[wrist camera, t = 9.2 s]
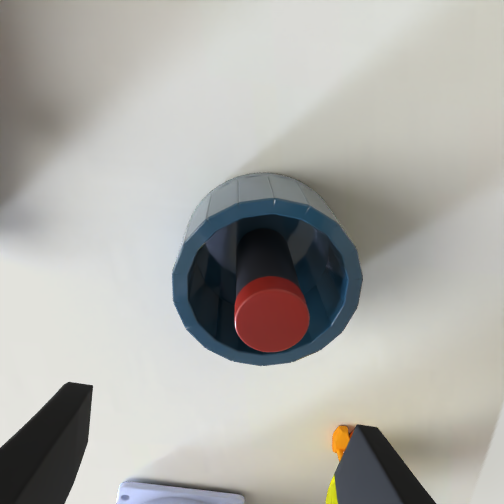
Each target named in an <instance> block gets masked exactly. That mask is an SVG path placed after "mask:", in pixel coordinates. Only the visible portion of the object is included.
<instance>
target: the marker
mask: <svg viewBox="0 0 504 504" xmlns="http://www.w3.org/2000/svg"><path fill="white" fill-rule="evenodd" d="M309 321H310V316H309V311H308V307H307V304H306V301H305V298H304V295H303V293H302V291H301V289H300V285H299V282H298V278H297V275H296V271H295V268H294V265H293V261H292V258H291V254H290V251H289V247H288V244H287V242H286V240H285V239H284V237H283V236H282V235H281V234H279V233H278V232H276V231H274V230H271V229H265V228H262V229H256V230H253V231H250V232H248V233H247V234H246V235H244V236H243V237H242V239H241V240H240V242H239V243H238V246H237V250H236V301H235V315H234V324H235V329H236V332H237V334H238V336H239V337H240V339H241V340H242V341H243V342H244V343H245V344H247V345H248V346H249V347H251V348H253V349H255V350H258V351H263V352H279V351H283V350H286V349H288V348H290V347H292V346H294V345H295V344H297V343H298V342H299V341H300V340H301V339H302V338H303V337H304V335H305V333H306V331H307V329H308V326H309Z"/></svg>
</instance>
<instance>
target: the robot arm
mask: <svg viewBox="0 0 504 504" xmlns="http://www.w3.org/2000/svg"><path fill="white" fill-rule="evenodd" d="M92 390H93V385H86V384H79V383H72V382H68V383H66V384H64V385H63V386H62V387H61V388H60V390H59V391H58V392H57V393H56V394H55V395H54V396H53V397H52V398H51V399H50V400H49V401H48V402H47V403H46V404H45V405H44V406H43V407H42V408H41V409H40V411H39V412H38V413H36V414H35V415H34V416H33V417H32V418H31V419H30V420H29V421H28V422H27V423H26V424H25V425H24V426H23V427H22V428H21V429H20V430H19V431H18V432H17V433H16V434H15V435H14V436H13V437H11V438H10V439H9V440H8V441H7V442H6V443H5V444H4V445H3V446H2V447H1V448H0V504H64V503H65V501H66V499H67V497H68V495H69V492H70V490H71V488H72V486H73V484H74V481H75V478H76V475H77V472H78V469H79V467H80V464H81V461H82V458H83V455H84V452H85V449H86V446H87V443H88V435H89V424H90V413H91V401H92ZM334 476H335V485H336V494H337V501H338V504H436V503H435V501H434V500H433V499H432V498H431V496H430V495H429V494H428V493H427V491H426V490H425V489H424V488H423V486H422V485H421V484H420V482H419V481H418V480H417V478H416V477H415V476H414V475H413V473H412V472H411V471H410V469H409V468H408V467H407V465H406V464H405V463H404V461H403V460H402V459H401V458H400V456H399V455H398V454H397V452H396V451H395V450H394V448H393V447H392V446H391V444H390V443H389V442H388V440H387V439H386V438H385V437H384V435H383V434H382V433H381V431H380V430H379V429H378V428H377V427H371V426H364V425H356V427H355V429H354V432H353V434H352V436H351V438H350V440H349V443H348V445H347V447H346V449H345V452H344V454H343V456H342V458H341V460H340V463H339V465H338V467H337V469H336V471H335V474H334ZM116 504H245V498H244V497H243V496H242V495H239V494H232V493H223V492H215V491H206V490H198V489H189V488H180V487H172V486H163V485H155V484H146V483H138V482H129V481H125V482H122V483H121V484H120V486H119V489H118V495H117V503H116Z"/></svg>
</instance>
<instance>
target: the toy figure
mask: <svg viewBox="0 0 504 504" xmlns="http://www.w3.org/2000/svg"><path fill="white" fill-rule="evenodd" d="M353 432H354V430H353V431H352V432H351V433H350V435H349V432H348V428H347V426H338V428H337V429H336V430H335V431H334V433H333V437H332V449H333V452H335V453H337V455H338V459H339V462H340V460H341V458H342V456H343V454H344V453H343V452H344V451H345V449H346V447H347V445H348V443H349V440H350V438H351V436H352V434H353ZM326 504H338V501H337V494H336V485H335V476H333V478H332V480H331V483H330V487H329V488H328V492H327V497H326Z"/></svg>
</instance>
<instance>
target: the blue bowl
mask: <svg viewBox="0 0 504 504" xmlns="http://www.w3.org/2000/svg"><path fill="white" fill-rule="evenodd" d="M262 228H265V229H271V230H274V231H276V232H278V233H279V234H281V235H282V236H283V237H284V239H285V240H286V242H287V244H288V247H289V251H290V254H291V258H292V261H293V265H294V268H295V271H296V275H297V278H298V282H299V285H300V289H301V291H302V293H303V295H304V298H305V301H306V304H307V307H308V311H309V316H310V321H309V326H308V329H307V331H306V333H305V335H304V337H303V338H302V339H301V340H300V341H299V342H298V343H297V344H295V345H294V346H292V347H290V348H288V349H286V350H283V351H279V352H263V351H258V350H255V349H253V348H251V347H249V346H248V345H247V344H245V343H244V342H243V341H242V340H241V339H240V337H239V336H238V334H237V332H236V329H235V324H234V315H235V301H236V250H237V246H238V243H239V242H240V240H241V239H242V237H243V236H244V235H246V234H247V233H248V232H250V231H253V230H256V229H262ZM362 281H363V275H362V270H361V266H360V261H359V256H358V252H357V249H356V247H355V245H354V244H353V242H352V241H351V239H350V238H349V236H348V235H347V233H346V232H345V230H344V229H343V227H342V226H341V224H340V223H339V221H338V220H337V218H336V217H335V216H334V214H333V213H332V211H331V210H330V209H329V207H328V206H327V204H326V203H325V201H324V200H323V199H322V198H321V197H320V196H319V195H318V194H317V193H316V192H315V191H314V190H312V189H311V188H310V187H309V186H307V185H305V184H304V183H302V182H300V181H298V180H296V179H293V178H291V177H288V176H284V175H280V174H273V173H254V174H247V175H243V176H239V177H236V178H233V179H231V180H228V181H226V182H225V183H223V184H221V185H219V186H218V187H216V188H215V189H214V190H212V191H211V192H210V193H209V194H208V195H207V196H206V197H205V198H204V199H203V200H202V201H201V202H200V203H199V205H198V206H197V207H196V209H195V211H194V212H193V214H192V216H191V219H190V221H189V223H188V226H187V229H186V232H185V234H184V237H183V240H182V243H181V246H180V249H179V253H178V256H177V259H176V262H175V265H174V268H173V272H172V287H173V302H174V305H175V307H176V309H177V311H178V313H179V316H180V318H181V320H182V322H183V324H184V326H185V328H186V330H187V331H188V332H189V333H190V334H191V335H192V336H193V337H195V338H196V339H197V340H198V341H199V342H200V343H201V344H202V345H203V346H204V347H205V348H207V349H208V350H210V351H212V352H214V353H216V354H218V355H220V356H222V357H224V358H226V359H228V360H230V361H234V362H239V363H245V364H252V365H258V366H262V365H263V366H268V365H276V364H284V363H291V362H294V361H297V360H299V359H301V358H304V357H306V356H309V355H311V354H313V353H316V352H318V351H319V350H322V349H323V348H324V347H325V346H326V345H328V344H329V343H330V342H331V341H332V340H334V339H335V338H336V337H337V336H338V335H339V334H341V333H342V331H343V330H344V329H345V327H346V325H347V324H348V322H349V321H350V319H351V317H352V316H353V314H354V312H355V311H356V309H357V306H358V303H359V297H360V292H361V287H362Z"/></svg>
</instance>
